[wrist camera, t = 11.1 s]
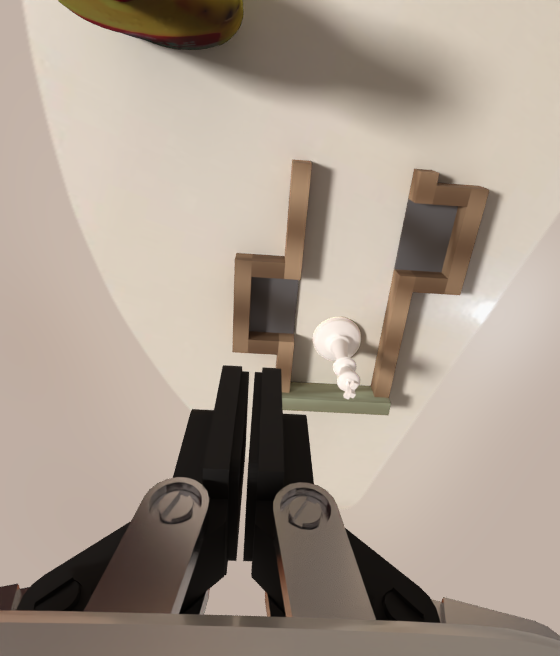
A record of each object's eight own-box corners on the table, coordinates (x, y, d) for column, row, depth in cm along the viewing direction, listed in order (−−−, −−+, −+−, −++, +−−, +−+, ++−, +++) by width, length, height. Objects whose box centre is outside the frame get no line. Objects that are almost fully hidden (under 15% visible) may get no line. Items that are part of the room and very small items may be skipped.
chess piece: (369, 328, 44) (393, 384, 35) (345, 365, 46) (362, 427, 37) (327, 308, 43) (341, 361, 34) (304, 347, 45) (311, 407, 36)
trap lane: (239, 155, 37) (236, 159, 34) (482, 173, 38) (498, 179, 35) (232, 390, 47) (230, 407, 45) (421, 400, 48) (430, 417, 46)
